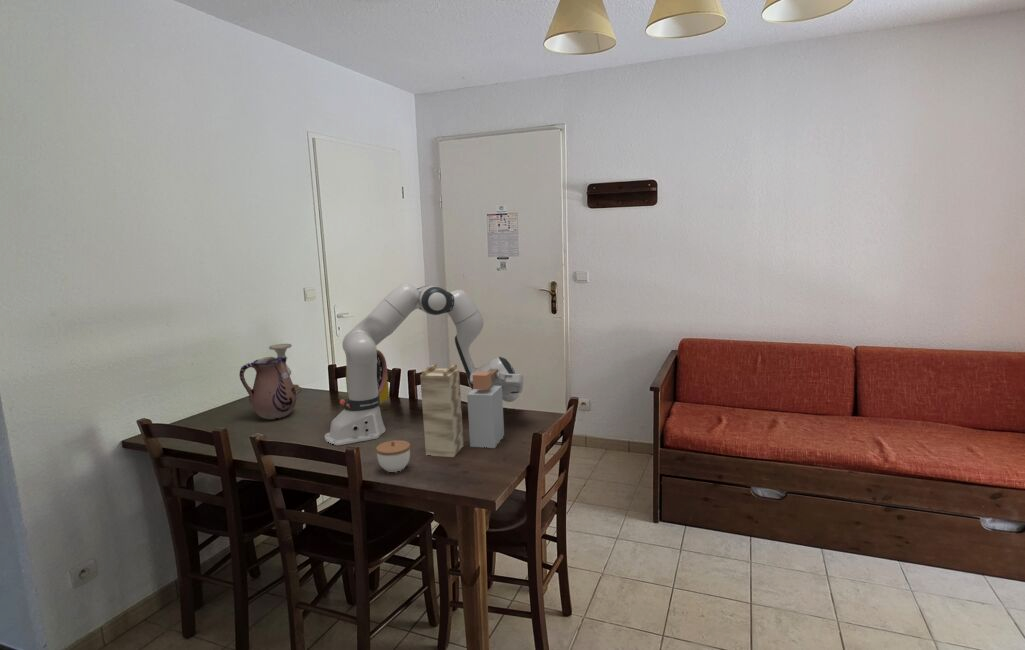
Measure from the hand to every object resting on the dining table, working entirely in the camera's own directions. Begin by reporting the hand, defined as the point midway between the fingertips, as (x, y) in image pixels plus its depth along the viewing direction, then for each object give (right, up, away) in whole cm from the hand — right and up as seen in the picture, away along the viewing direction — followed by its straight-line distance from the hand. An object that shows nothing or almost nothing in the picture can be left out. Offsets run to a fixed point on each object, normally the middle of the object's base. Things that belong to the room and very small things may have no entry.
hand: (491, 374), depth 217 cm
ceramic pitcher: (-94, -22, +35) cm, 103 cm away
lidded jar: (-30, -29, -25) cm, 49 cm away
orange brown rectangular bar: (-1, -3, -4) cm, 5 cm away
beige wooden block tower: (-16, -26, -11) cm, 32 cm away
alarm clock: (-56, -18, +48) cm, 76 cm away
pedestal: (-1, -24, -4) cm, 24 cm away
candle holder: (-103, -16, +72) cm, 126 cm away
